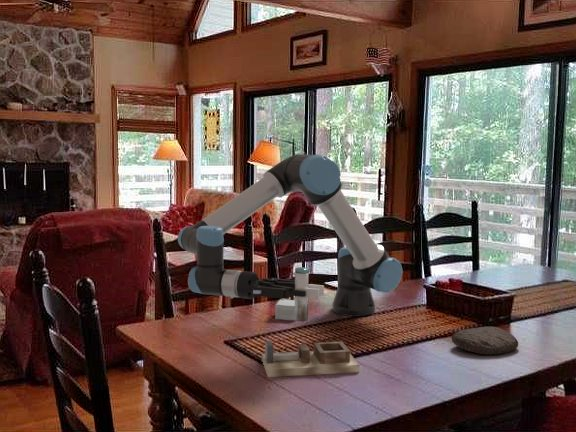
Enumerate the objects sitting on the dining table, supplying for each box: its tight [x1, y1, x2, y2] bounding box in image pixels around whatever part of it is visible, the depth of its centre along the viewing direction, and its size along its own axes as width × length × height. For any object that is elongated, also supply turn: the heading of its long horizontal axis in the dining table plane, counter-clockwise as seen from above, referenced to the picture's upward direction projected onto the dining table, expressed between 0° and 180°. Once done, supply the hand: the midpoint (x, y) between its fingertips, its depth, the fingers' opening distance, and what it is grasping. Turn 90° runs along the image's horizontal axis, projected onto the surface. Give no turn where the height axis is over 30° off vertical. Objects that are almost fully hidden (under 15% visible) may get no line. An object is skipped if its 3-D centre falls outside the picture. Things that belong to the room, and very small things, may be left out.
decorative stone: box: [451, 326, 519, 355], centre depth 177 cm, size 20×14×5 cm
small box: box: [274, 299, 296, 321], centre depth 207 cm, size 8×8×5 cm
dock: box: [261, 341, 360, 378], centre depth 161 cm, size 24×12×5 cm, turn 100°
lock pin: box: [264, 340, 299, 363], centre depth 160 cm, size 9×4×5 cm, turn 100°
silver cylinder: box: [294, 267, 309, 322], centre depth 163 cm, size 4×4×14 cm
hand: (320, 292), depth 161 cm, fingers closed on silver cylinder, 3 cm apart
